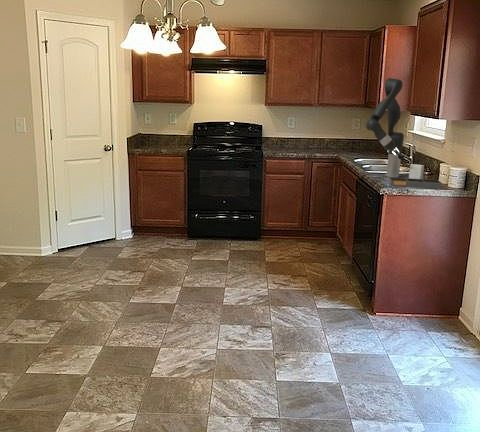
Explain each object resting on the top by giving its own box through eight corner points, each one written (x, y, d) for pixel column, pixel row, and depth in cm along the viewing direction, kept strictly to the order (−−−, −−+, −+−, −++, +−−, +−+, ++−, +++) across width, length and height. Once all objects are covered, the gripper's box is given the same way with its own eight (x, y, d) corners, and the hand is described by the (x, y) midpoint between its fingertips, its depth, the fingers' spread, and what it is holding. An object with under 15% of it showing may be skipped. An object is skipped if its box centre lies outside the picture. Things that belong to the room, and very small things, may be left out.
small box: (422, 183, 366) (424, 165, 363) (419, 184, 361) (421, 166, 358) (410, 181, 370) (413, 163, 367) (408, 182, 365) (410, 164, 362)
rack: (388, 183, 362) (388, 177, 361) (437, 185, 358) (437, 179, 357) (390, 186, 350) (391, 180, 349) (441, 188, 346) (442, 183, 345)
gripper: (393, 139, 353) (408, 157, 355) (389, 137, 367) (404, 154, 369) (384, 147, 355) (399, 164, 357) (381, 144, 369) (396, 161, 371)
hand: (402, 159), depth 363 cm, fingers open, 8 cm apart
